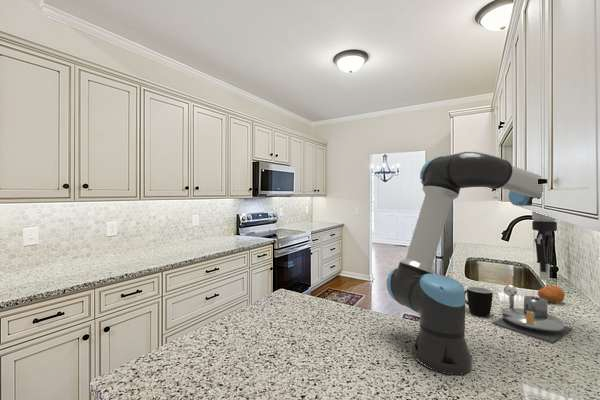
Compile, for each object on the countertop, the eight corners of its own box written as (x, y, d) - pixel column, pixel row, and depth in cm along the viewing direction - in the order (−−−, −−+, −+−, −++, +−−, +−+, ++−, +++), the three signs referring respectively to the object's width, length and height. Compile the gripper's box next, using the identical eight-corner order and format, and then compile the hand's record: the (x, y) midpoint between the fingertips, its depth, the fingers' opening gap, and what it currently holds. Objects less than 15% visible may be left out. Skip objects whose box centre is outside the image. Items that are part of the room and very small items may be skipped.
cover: (543, 319, 104) (543, 301, 104) (520, 313, 110) (520, 296, 110) (550, 315, 108) (550, 298, 108) (527, 310, 114) (527, 293, 114)
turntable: (554, 336, 94) (554, 319, 94) (493, 317, 109) (493, 303, 109) (571, 324, 104) (571, 309, 104) (513, 308, 119) (513, 295, 119)
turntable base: (553, 343, 93) (553, 337, 93) (492, 323, 109) (492, 318, 109) (572, 329, 104) (572, 324, 104) (514, 313, 119) (514, 308, 120)
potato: (571, 304, 132) (571, 288, 132) (552, 306, 129) (552, 289, 129) (549, 298, 141) (549, 282, 141) (531, 299, 138) (532, 284, 138)
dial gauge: (515, 315, 117) (515, 287, 118) (503, 312, 121) (503, 284, 121) (519, 313, 120) (519, 285, 120) (507, 310, 123) (507, 283, 123)
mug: (497, 316, 116) (497, 291, 116) (482, 319, 113) (482, 293, 113) (470, 306, 127) (470, 283, 127) (455, 309, 124) (455, 285, 124)
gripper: (550, 221, 107) (550, 284, 107) (562, 220, 115) (562, 279, 114) (526, 220, 114) (526, 279, 113) (538, 219, 121) (538, 275, 121)
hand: (544, 279), depth 114 cm, fingers closed
